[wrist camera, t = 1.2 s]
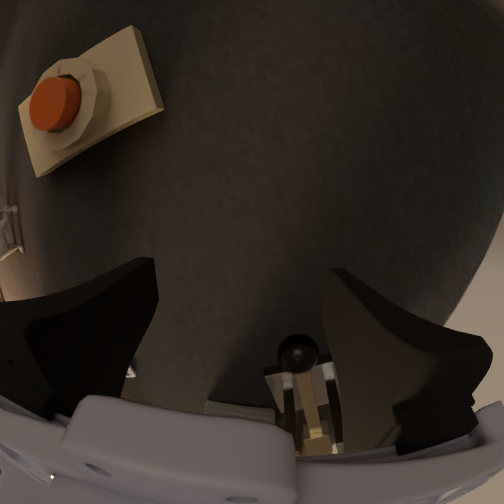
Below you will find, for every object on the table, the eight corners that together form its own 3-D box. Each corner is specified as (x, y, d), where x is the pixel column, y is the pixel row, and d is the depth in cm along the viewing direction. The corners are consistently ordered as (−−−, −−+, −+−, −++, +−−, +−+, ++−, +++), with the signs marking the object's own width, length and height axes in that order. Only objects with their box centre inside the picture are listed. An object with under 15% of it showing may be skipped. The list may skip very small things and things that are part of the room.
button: (51, 137, 15) (35, 140, 13) (40, 96, 13) (25, 96, 12) (86, 113, 14) (71, 113, 12) (75, 69, 13) (60, 66, 11)
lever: (274, 333, 22) (270, 346, 19) (313, 324, 22) (315, 336, 19) (303, 444, 22) (302, 465, 19) (336, 437, 21) (339, 458, 18)
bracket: (264, 367, 26) (263, 450, 18) (344, 349, 25) (367, 429, 16) (280, 404, 29) (282, 475, 20) (349, 389, 28) (365, 459, 19)
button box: (48, 173, 19) (22, 183, 16) (30, 105, 16) (3, 107, 13) (165, 109, 17) (146, 106, 14) (141, 30, 14) (120, 16, 11)
